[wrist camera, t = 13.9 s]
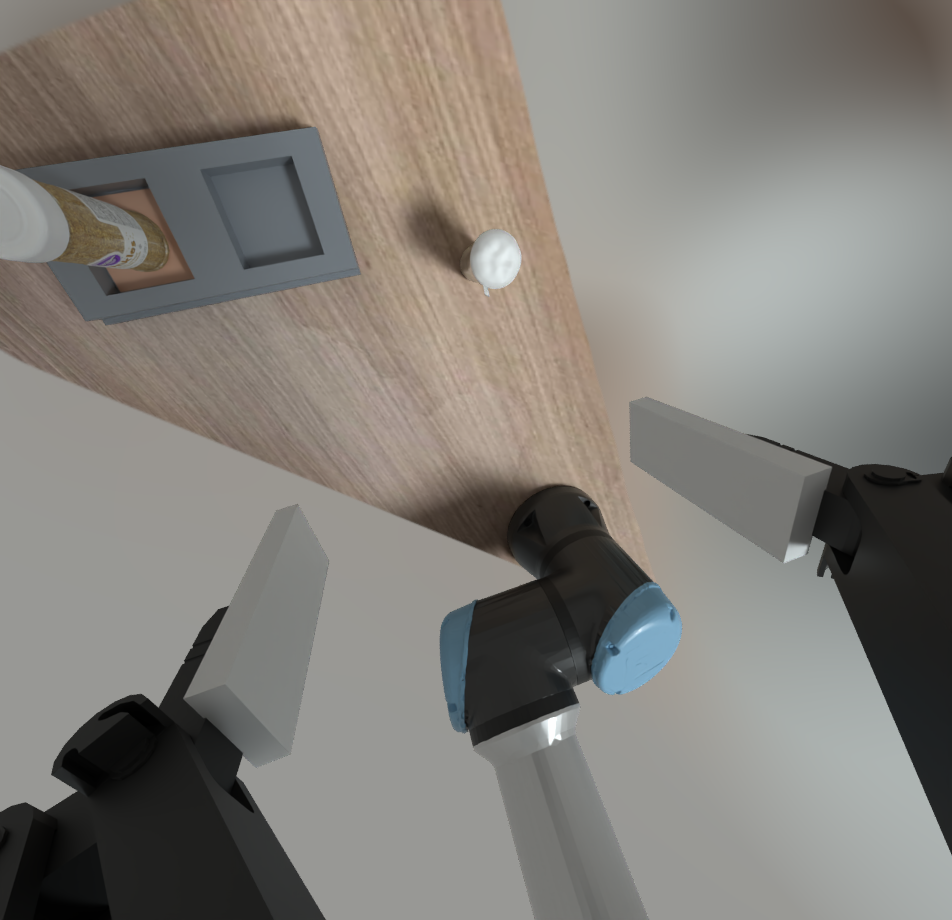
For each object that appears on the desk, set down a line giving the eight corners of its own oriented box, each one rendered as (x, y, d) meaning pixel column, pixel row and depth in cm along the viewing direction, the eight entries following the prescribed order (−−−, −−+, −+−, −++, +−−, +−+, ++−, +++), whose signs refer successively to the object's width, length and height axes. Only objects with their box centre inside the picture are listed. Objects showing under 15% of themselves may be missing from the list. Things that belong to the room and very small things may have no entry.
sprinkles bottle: (150, 284, 31) (11, 280, 19) (92, 236, 29) (-104, 199, 17) (184, 246, 31) (63, 219, 19) (127, 195, 29) (-50, 127, 17)
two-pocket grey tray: (361, 274, 36) (359, 273, 33) (112, 324, 33) (89, 327, 30) (318, 132, 31) (313, 118, 28) (19, 176, 28) (-19, 164, 25)
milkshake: (443, 283, 38) (462, 283, 29) (463, 230, 36) (490, 213, 28) (480, 303, 40) (509, 308, 31) (501, 253, 38) (538, 244, 29)
